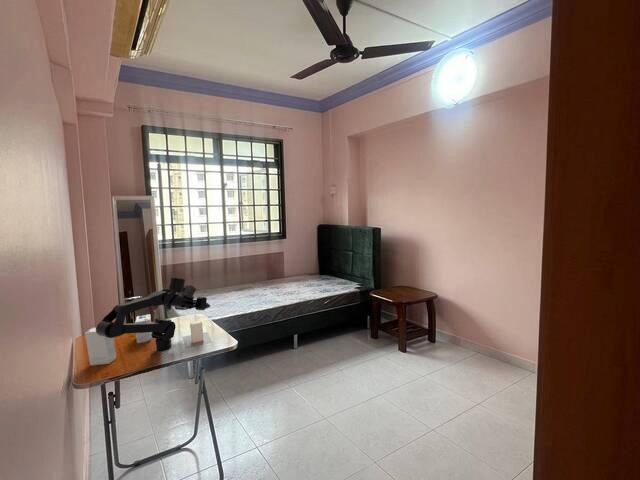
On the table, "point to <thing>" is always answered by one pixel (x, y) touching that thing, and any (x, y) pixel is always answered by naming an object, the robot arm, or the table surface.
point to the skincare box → (99, 348)
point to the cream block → (196, 332)
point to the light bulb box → (143, 336)
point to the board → (187, 337)
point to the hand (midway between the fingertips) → (203, 306)
